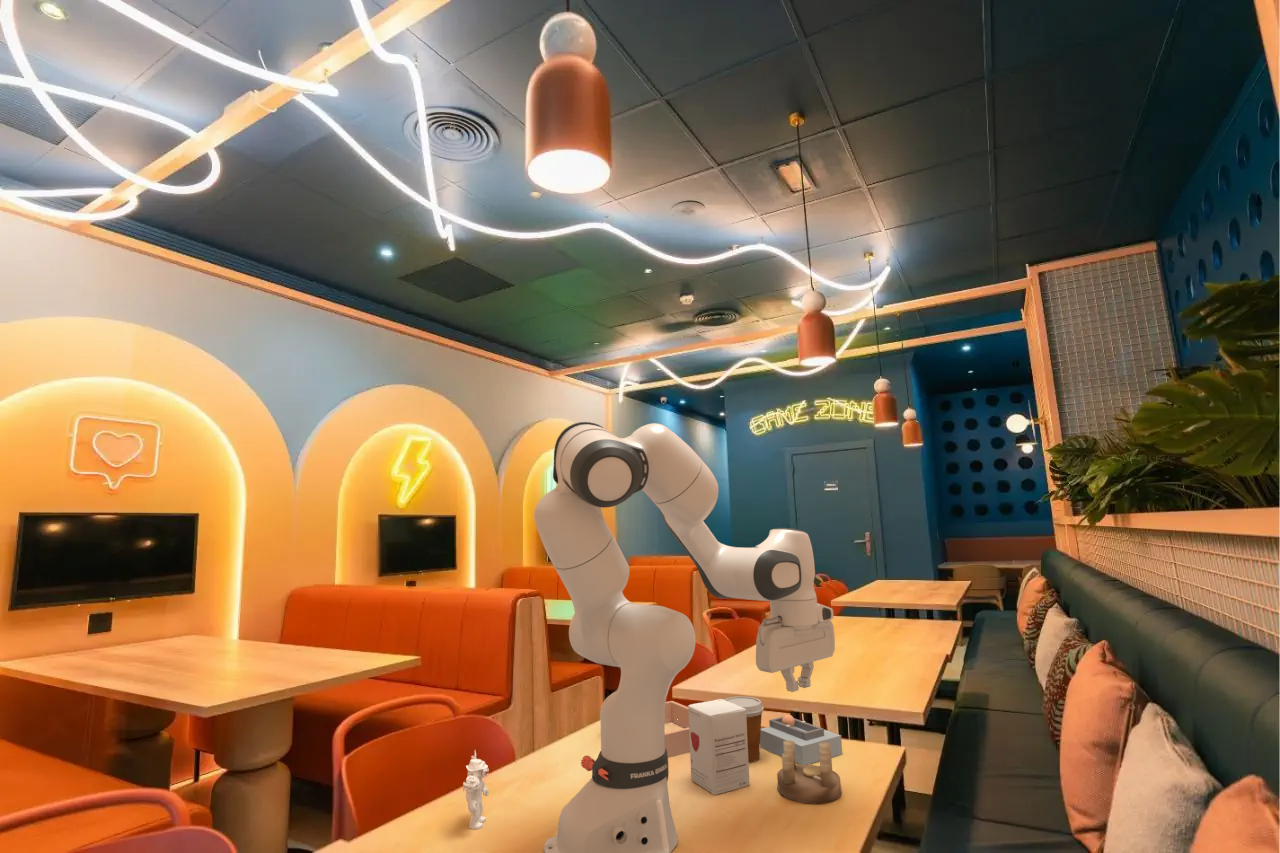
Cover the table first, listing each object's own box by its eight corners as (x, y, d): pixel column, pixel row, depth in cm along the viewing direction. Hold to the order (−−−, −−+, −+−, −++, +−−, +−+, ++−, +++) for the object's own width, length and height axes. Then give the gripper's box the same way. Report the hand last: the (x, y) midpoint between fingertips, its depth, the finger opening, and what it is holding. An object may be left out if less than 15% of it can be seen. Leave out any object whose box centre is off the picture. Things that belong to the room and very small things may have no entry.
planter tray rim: (647, 762, 143) (646, 738, 144) (603, 735, 162) (602, 714, 163) (723, 743, 154) (722, 721, 154) (673, 720, 172) (672, 700, 173)
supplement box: (689, 780, 133) (686, 704, 135) (725, 771, 137) (721, 697, 139) (714, 796, 125) (710, 715, 127) (751, 786, 129) (747, 707, 131)
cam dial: (808, 809, 118) (806, 765, 119) (764, 786, 128) (762, 746, 129) (855, 793, 124) (852, 752, 125) (809, 772, 134) (807, 734, 135)
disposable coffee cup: (766, 766, 139) (762, 708, 140) (722, 764, 140) (719, 707, 142) (766, 750, 148) (763, 696, 150) (725, 749, 150) (722, 695, 151)
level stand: (802, 766, 138) (801, 738, 139) (760, 747, 150) (758, 721, 151) (842, 754, 144) (840, 727, 145) (798, 737, 156) (796, 712, 157)
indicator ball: (788, 731, 149) (787, 717, 149) (779, 727, 151) (778, 714, 152) (797, 728, 150) (797, 715, 151) (789, 725, 153) (788, 712, 153)
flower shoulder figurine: (472, 813, 121) (473, 745, 123) (493, 812, 121) (493, 745, 123) (458, 836, 112) (458, 763, 114) (480, 836, 112) (480, 762, 114)
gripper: (772, 622, 114) (777, 703, 112) (838, 608, 127) (843, 681, 125) (745, 618, 119) (749, 696, 117) (811, 606, 132) (816, 676, 130)
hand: (798, 689), depth 121 cm, fingers open, 2 cm apart
